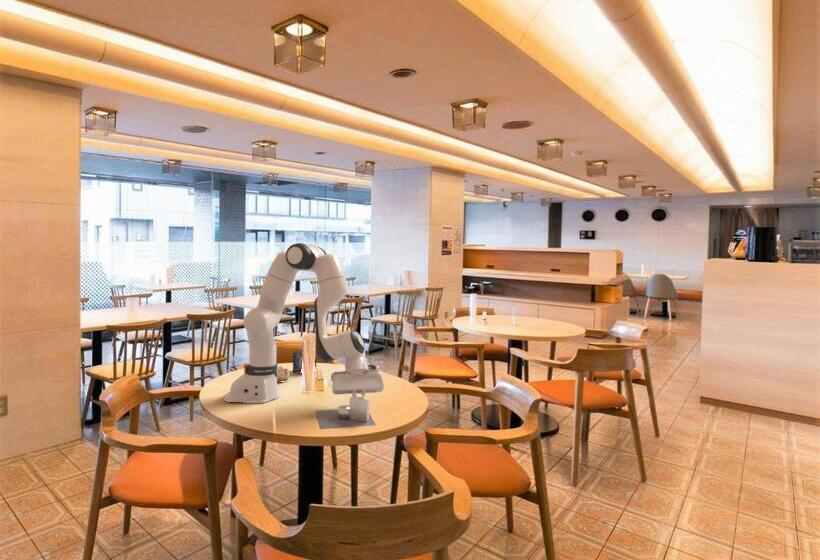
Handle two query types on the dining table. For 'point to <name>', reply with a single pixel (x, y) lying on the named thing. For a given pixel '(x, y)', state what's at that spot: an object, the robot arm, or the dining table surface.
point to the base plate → (339, 420)
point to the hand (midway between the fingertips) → (359, 402)
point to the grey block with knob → (355, 409)
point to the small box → (298, 361)
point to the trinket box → (282, 373)
